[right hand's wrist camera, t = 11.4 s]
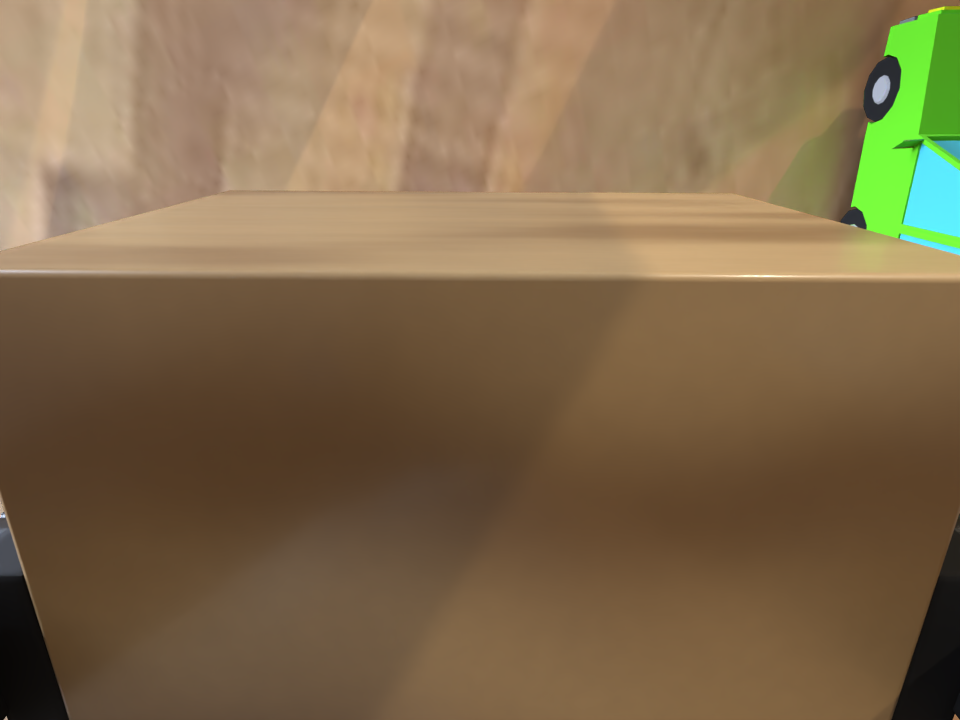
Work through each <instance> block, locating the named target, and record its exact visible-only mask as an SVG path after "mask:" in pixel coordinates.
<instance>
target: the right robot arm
mask: <svg viewBox="0 0 960 720" xmlns="http://www.w3.org/2000/svg"><path fill="white" fill-rule="evenodd" d="M1 515H2V516H1V518H0V720H4V718H5V717H6V716H7V718H8V720H69V717H68V714H67V711H66V708H65V704H64V701H63V698H62V695H61V692H60V688H59V685H58V682H57V679H56V676H55V673H54V669H53V666H52V663H51V660H50V657H49V653H48V650H47V647H46V644H45V641H44V637H43V634H42V631H41V628H40V625H39V621H38V618H37V615H36V612H35V609H34V606H33V602H32V599H31V596H30V593H29V590H28V586H27V583H26V580H25V577H24V574H23V570H22V567H21V564H20V561H19V558H18V554H17V551H16V548H15V545H14V542H13V539H12V535H11V532H10V529H9V526H8V523H7V519H6V516H5V513H4V512H3V513H2V514H1ZM954 714H956V715H957V717H958V718H959V719H960V513H959V516H958V519H957V522H956V525H955V528H954V531H953V535H952V538H951V541H950V544H949V547H948V550H947V553H946V556H945V559H944V562H943V565H942V568H941V571H940V574H939V577H938V580H937V583H936V586H935V589H934V592H933V595H932V598H931V601H930V604H929V607H928V610H927V613H926V616H925V619H924V622H923V625H922V629H921V632H920V635H919V638H918V641H917V644H916V647H915V650H914V653H913V656H912V659H911V662H910V665H909V668H908V671H907V674H906V677H905V680H904V683H903V686H902V689H901V692H900V695H899V698H898V701H897V704H896V707H895V710H894V713H893V716H892V719H891V720H953V717H954Z"/></svg>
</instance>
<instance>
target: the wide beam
mask: <svg viewBox="0 0 960 720" xmlns="http://www.w3.org/2000/svg"><path fill="white" fill-rule="evenodd" d="M0 500H1V503H2V507H3V510H4V513H5V516H6V519H7V523H8V526H9V529H10V532H11V535H12V539H13V542H14V545H15V548H16V551H17V554H18V558H19V561H20V564H21V567H22V570H23V574H24V577H25V580H26V583H27V586H28V590H29V593H30V596H31V599H32V602H33V606H34V609H35V612H36V615H37V618H38V621H39V625H40V628H41V631H42V634H43V637H44V641H45V644H46V647H47V650H48V653H49V657H50V660H51V663H52V666H53V669H54V673H55V676H56V679H57V682H58V685H59V688H60V692H61V695H62V698H63V701H64V704H65V708H66V711H67V714H68V717H69V720H891V719H892V716H893V713H894V710H895V707H896V704H897V701H898V698H899V695H900V692H901V689H902V686H903V683H904V680H905V677H906V674H907V671H908V668H909V665H910V662H911V659H912V656H913V653H914V650H915V647H916V644H917V641H918V638H919V635H920V632H921V629H922V625H923V622H924V619H925V616H926V613H927V610H928V607H929V604H930V601H931V598H932V595H933V592H934V589H935V586H936V583H937V580H938V577H939V574H940V571H941V568H942V565H943V562H944V559H945V556H946V553H947V550H948V547H949V544H950V541H951V538H952V535H953V531H954V528H955V525H956V522H957V519H958V516H959V513H960V255H958V254H954V253H950V252H947V251H943V250H939V249H936V248H932V247H928V246H924V245H921V244H917V243H913V242H910V241H906V240H902V239H899V238H895V237H891V236H888V235H884V234H880V233H877V232H873V231H869V230H866V229H862V228H858V227H855V226H851V225H847V224H844V223H840V222H836V221H832V220H829V219H825V218H821V217H818V216H814V215H810V214H807V213H803V212H799V211H796V210H792V209H788V208H785V207H781V206H777V205H774V204H770V203H766V202H763V201H759V200H755V199H751V198H748V197H744V196H740V195H737V194H728V193H558V192H387V191H226V192H222V193H219V194H215V195H211V196H207V197H203V198H200V199H196V200H192V201H188V202H185V203H181V204H177V205H173V206H169V207H166V208H162V209H158V210H154V211H151V212H147V213H143V214H139V215H135V216H132V217H128V218H124V219H120V220H116V221H113V222H109V223H105V224H101V225H98V226H94V227H90V228H86V229H82V230H79V231H75V232H71V233H67V234H64V235H60V236H56V237H52V238H48V239H45V240H41V241H37V242H33V243H29V244H26V245H22V246H18V247H14V248H11V249H7V250H3V251H0Z"/></svg>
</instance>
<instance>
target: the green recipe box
mask: <svg viewBox="0 0 960 720" xmlns="http://www.w3.org/2000/svg"><path fill="white" fill-rule="evenodd" d="M884 57H887V58H885V59H884V60H882V61H880V62H879V63H878V64H877V65H876V67H875V68H874V70H873V71H872V73H871V74H870V75H869V78H868V81H867V84H866V88H865V91H864V106H863V107H864V110H865V112H866V115H867V118H869V119H871V120H873V121H875V122H868V126H867V130H866V134H865V139H864V144H863V149H862V154H861V159H860V164H859V169H858V174H857V179H856V185H855V190H854V195H853V200H852V205H851V207H857V208H858V209H855V210H851V211H848V213H847V214H846V215H845V216H844V217H843V218H842V220H841V223H844V224H847V225H851V226H855V227H858V228H862V229H866V230H869V231H873V232H877V233H880V234H884V235H888V236H891V237H895V238H899V239H902V240H906V241H910V242H913V243H917V244H921V245H924V246H928V247H932V248H936V249H939V250H943V251H947V252H950V253H954V254H958V255H960V6H945V7H941V8H937V9H933V10H929V12H928V13H926V14H922V15H918V16H915V17H912V18H909V19H906V20H903V21H900V24H899V25H896V26H892V27H891V29H890V33H889V37H888V42H887V46H886V50H885V54H884Z"/></svg>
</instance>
